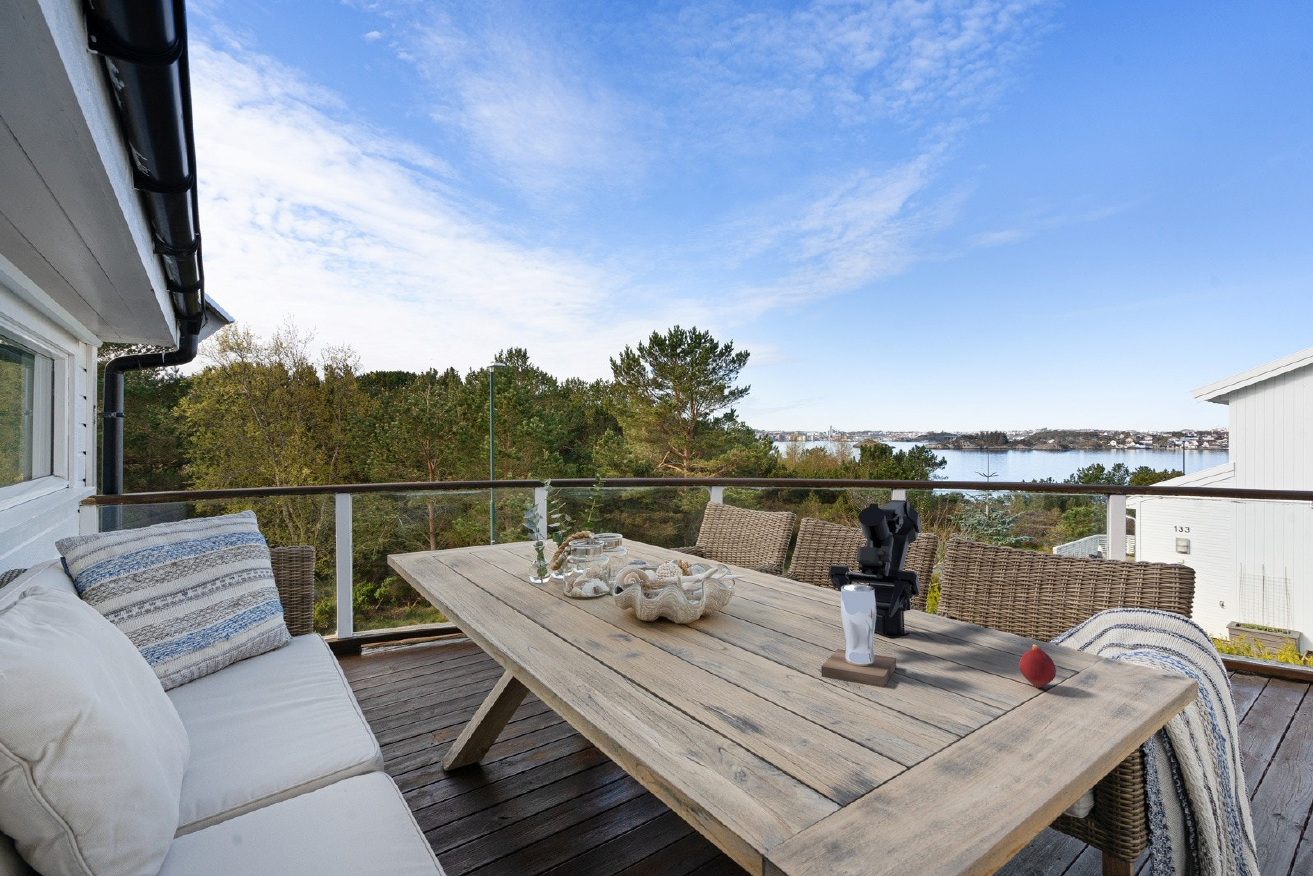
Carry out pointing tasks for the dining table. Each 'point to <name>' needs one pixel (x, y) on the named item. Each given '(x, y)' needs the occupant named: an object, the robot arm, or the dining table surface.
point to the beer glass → (858, 623)
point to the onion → (1037, 667)
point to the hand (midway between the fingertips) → (867, 613)
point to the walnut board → (859, 669)
